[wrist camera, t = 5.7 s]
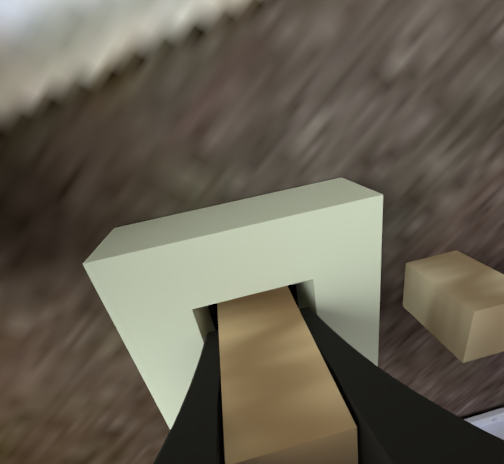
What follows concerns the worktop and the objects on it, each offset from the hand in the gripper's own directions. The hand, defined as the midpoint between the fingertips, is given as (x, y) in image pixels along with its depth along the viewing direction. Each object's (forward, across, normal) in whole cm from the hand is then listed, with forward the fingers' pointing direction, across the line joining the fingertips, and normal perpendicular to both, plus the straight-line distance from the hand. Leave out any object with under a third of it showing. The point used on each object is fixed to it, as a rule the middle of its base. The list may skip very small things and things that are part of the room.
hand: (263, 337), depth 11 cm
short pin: (+3, -10, +2) cm, 11 cm away
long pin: (+2, 0, 0) cm, 2 cm away
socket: (+3, 0, 0) cm, 3 cm away
